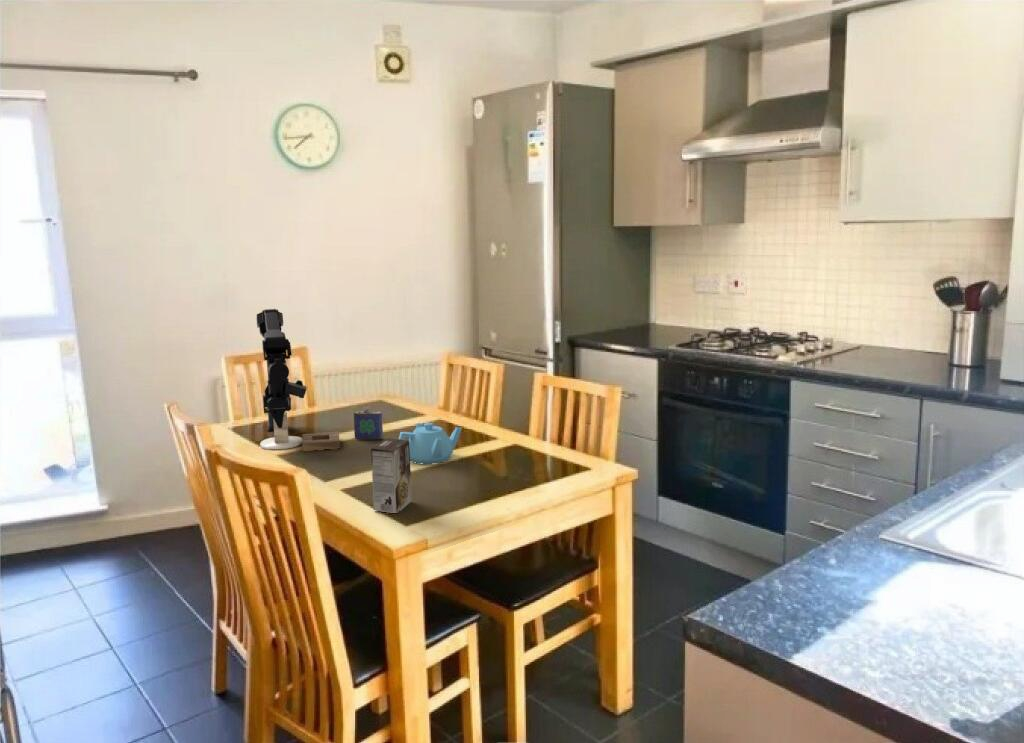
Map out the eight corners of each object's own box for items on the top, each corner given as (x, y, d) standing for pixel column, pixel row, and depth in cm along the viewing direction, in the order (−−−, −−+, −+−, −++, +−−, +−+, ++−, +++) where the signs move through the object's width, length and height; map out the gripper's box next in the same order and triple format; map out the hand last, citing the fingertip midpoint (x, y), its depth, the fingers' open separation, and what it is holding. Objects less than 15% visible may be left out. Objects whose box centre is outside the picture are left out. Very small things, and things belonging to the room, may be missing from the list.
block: (275, 440, 245) (273, 412, 243) (288, 439, 246) (286, 412, 244) (274, 443, 241) (273, 415, 240) (288, 442, 242) (286, 415, 241)
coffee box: (389, 499, 194) (386, 437, 191) (412, 501, 193) (410, 439, 189) (372, 512, 186) (369, 447, 183) (396, 514, 184) (394, 449, 181)
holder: (302, 441, 246) (302, 434, 246) (338, 439, 249) (338, 431, 248) (302, 451, 235) (302, 443, 235) (340, 448, 238) (339, 441, 238)
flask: (383, 438, 250) (382, 406, 248) (381, 440, 247) (380, 408, 245) (355, 438, 250) (354, 406, 248) (353, 440, 247) (351, 408, 245)
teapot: (419, 449, 238) (418, 415, 236) (463, 453, 233) (462, 419, 230) (394, 463, 224) (392, 427, 222) (440, 468, 219) (439, 432, 216)
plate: (261, 440, 248) (261, 437, 248) (303, 437, 252) (303, 434, 252) (259, 451, 236) (259, 448, 236) (303, 447, 239) (303, 445, 239)
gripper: (304, 380, 233) (307, 429, 236) (304, 369, 251) (307, 415, 253) (265, 382, 230) (269, 432, 233) (268, 370, 248) (271, 418, 251)
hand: (280, 424), depth 243 cm, fingers open, 9 cm apart
